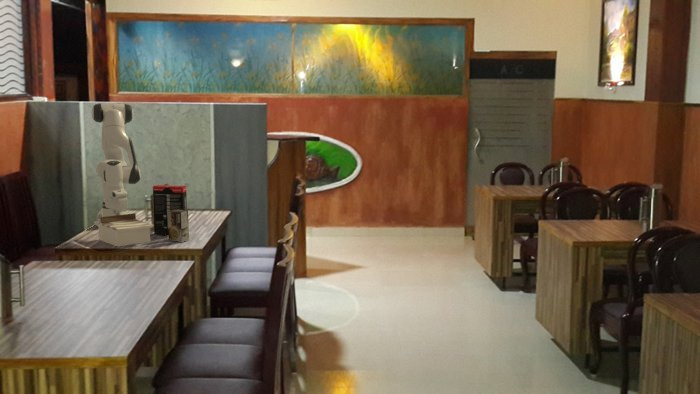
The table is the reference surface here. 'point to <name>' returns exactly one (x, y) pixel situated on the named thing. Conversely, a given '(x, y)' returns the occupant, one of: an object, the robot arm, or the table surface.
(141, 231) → the gift box base
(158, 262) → the table surface
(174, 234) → the coffee box
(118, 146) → the robot arm
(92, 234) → the table surface
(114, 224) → the box lid
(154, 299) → the table surface
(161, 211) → the graphics card box
